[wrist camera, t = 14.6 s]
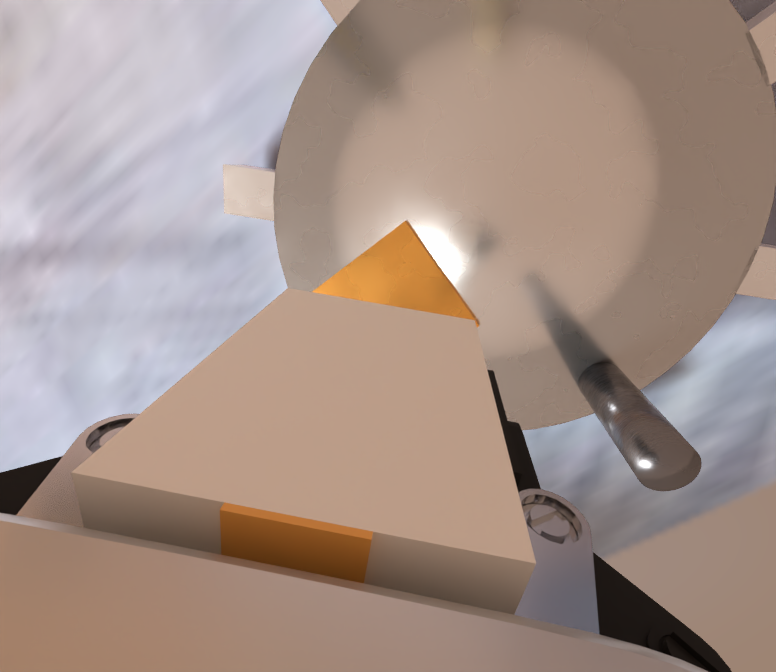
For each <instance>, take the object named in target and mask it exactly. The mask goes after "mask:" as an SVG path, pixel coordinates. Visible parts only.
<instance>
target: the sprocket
mask: <svg viewBox="0 0 776 672" xmlns="http://www.w3.org/2000/svg"><path fill="white" fill-rule="evenodd" d="M321 2H322V3H323V5H324V6H325V8H326V9H327V11H328V12H329V14H330V15H331V17H332V18H333V20H334V21H335V23H336V24H337V27H336V29H335V30H334V31H333V32H332V33H331V35H330V36H329V38H328V39H327V41H326V42H325V44H324V45H323V47H322V48H321V50H320V51H319V53H318V55H317V56H316V58H315V59H314V61H313V62H312V64H311V65H310V67H309V69H308V71H307V73H306V75H305V77H304V80H303V82H302V84H301V86H300V88H299V90H298V92H297V94H296V96H295V98H294V101H293V104H292V107H291V110H290V112H289V115H288V118H287V121H286V124H285V127H284V130H283V134H282V138H281V143H280V148H279V153H278V158H277V162H276V170H274V169H268V168H261V167H255V166H248V165H223V180H224V213H226V214H232V215H239V216H245V217H252V218H258V219H264V220H271V221H274V228H275V235H276V241H277V247H278V253H279V259H280V262H281V265H282V269H283V272H284V276H285V279H286V283H287V286H288V288H291V289H297V290H302V291H308V292H314V293H320V294H326V295H331V296H337V297H343V298H349V299H355V300H360V301H366V302H372V303H378V304H384V305H389V306H395V307H401V308H407V309H413V310H418V311H424V312H430V313H436V314H441V315H447V316H453V317H459V318H465V319H470V320H475V323H476V327H477V331H478V335H479V339H480V343H481V347H482V351H483V355H484V359H485V363H486V367H487V370H493V371H494V374H495V377H496V381H497V385H498V388H499V392H500V395H501V399H502V403H503V406H504V410H505V413H506V417H507V420H508V421H512V422H517V423H519V425H520V427H521V429H522V430H530V429H538V428H543V427H548V426H553V425H557V424H562V423H565V422H569V421H572V420H575V419H578V418H582V417H585V416H588V415H590V414H593V413H595V414H596V416H597V417H598V419H599V420H600V422H601V423H602V425H603V426H604V428H605V429H606V431H607V432H608V434H609V435H610V437H611V438H612V440H613V441H614V443H615V445H616V446H617V448H618V449H619V451H620V452H621V454H622V455H623V457H624V458H625V460H626V461H627V463H628V464H629V466H630V467H631V469H632V470H633V472H634V473H635V475H636V476H637V478H638V479H639V481H640V482H641V483H642V484H643V485H644V486H646V487H647V488H650V489H652V490H656V491H671V490H676V489H679V488H682V487H684V486H686V485H687V484H689V483H690V482H692V481H693V480H694V479H695V478H696V477H697V475H698V474H699V472H700V469H701V458H700V456H699V454H698V453H697V452H696V451H695V449H694V448H693V447H692V446H691V445H690V444H689V443H688V442H687V441H686V440H685V439H684V438H683V436H682V435H681V434H680V433H679V432H678V431H677V430H676V429H675V428H674V427H673V426H672V425H671V424H670V422H669V421H668V420H667V419H666V418H665V417H664V416H663V415H662V414H661V413H660V412H659V411H658V410H657V408H656V407H655V406H654V405H653V404H652V403H651V402H650V401H649V400H648V399H647V398H646V397H645V396H644V394H643V393H642V392H641V391H640V390H641V389H642V388H644V387H645V386H647V385H648V384H650V383H651V382H652V381H654V380H655V379H657V378H658V377H660V376H661V375H662V374H664V373H665V372H667V371H668V370H669V369H670V368H671V367H672V366H673V365H675V364H676V363H677V362H678V361H679V360H680V359H681V358H683V357H684V356H685V355H686V354H687V353H688V352H690V351H691V349H692V348H693V347H694V346H695V345H696V344H697V343H698V342H699V341H700V340H701V339H702V338H703V336H704V335H705V334H706V333H707V332H708V331H709V330H710V329H711V328H712V327H713V325H714V324H715V323H716V321H717V320H718V318H719V317H720V316H721V314H722V313H723V312H724V310H725V309H726V308H727V306H728V305H729V304H730V302H731V301H732V299H733V298H734V296H735V294H741V295H748V296H754V297H760V298H767V299H773V300H776V246H775V245H769V244H762V243H761V242H762V239H763V236H764V233H765V229H766V226H767V222H768V219H769V215H770V212H771V208H772V205H773V199H774V193H775V186H776V108H775V101H774V94H773V90H772V87H771V84H773V83H774V82H776V1H775V2H773V3H772V4H771V5H769V6H768V7H767V8H765V9H764V10H762V11H761V12H760V13H758V14H757V15H755V16H754V17H753V18H751V19H750V20H748V21H747V22H746V23H745V21H744V20H743V19H742V17H741V16H740V15H739V13H738V12H737V11H736V9H735V8H734V7H733V5H732V4H731V3H730V1H729V0H321Z"/></svg>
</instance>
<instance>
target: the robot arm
mask: <svg viewBox="0 0 776 672" xmlns="http://www.w3.org/2000/svg"><path fill="white" fill-rule="evenodd" d="M487 371H488V374H489V378H490V382H491V386H492V390H493V394H494V398H495V402H496V406H497V410H498V414H499V418H500V422H501V426H502V430H503V434H504V438H505V442H506V446H507V450H508V454H509V458H510V462H511V466H512V470H513V474H514V478H515V482H516V485H517V489H518V493H519V497H520V501H521V505H522V509H523V513H524V517H525V521H526V525H527V529H528V533H529V537H530V541H531V545H532V549H533V553H534V557H535V561H536V565H535V568H534V570H533V572H532V575H531V577H530V579H529V582H528V584H527V586H526V588H525V591H524V593H523V595H522V598H521V600H520V602H519V605H518V607H517V609H516V612H515V614H514V615H512V614H508V613H503V612H499V611H494V610H489V609H484V608H479V607H475V606H470V605H465V604H460V603H455V602H451V601H446V600H441V599H436V598H431V597H427V596H422V595H417V594H412V593H407V592H403V591H398V590H393V589H388V588H383V587H378V586H374V585H369V584H364V583H359V582H354V581H349V580H344V579H339V578H334V577H330V576H325V575H320V574H315V573H310V572H305V571H300V570H295V569H290V568H285V567H280V566H275V565H270V564H265V563H260V562H255V561H250V560H245V559H240V558H235V557H230V556H225V555H220V554H215V553H210V552H205V551H200V550H195V549H190V548H185V547H180V546H175V545H170V544H165V543H160V542H154V541H149V540H144V539H139V538H134V537H129V536H124V535H119V534H113V533H108V532H103V531H98V530H93V529H88V528H84V526H83V522H82V517H81V513H80V508H79V504H78V500H77V495H76V491H75V487H74V482H73V478H72V473H71V472H72V471H73V470H75V469H76V468H77V467H78V466H79V465H80V464H82V463H83V462H84V461H85V460H86V459H88V458H89V457H90V456H91V455H92V454H93V453H95V452H96V451H97V450H98V449H99V448H100V447H102V446H103V445H104V444H105V443H106V442H108V441H109V440H110V439H111V438H112V437H113V436H115V435H116V434H117V433H118V432H119V431H120V430H122V429H123V428H124V427H125V426H126V425H128V424H129V423H130V422H131V421H132V420H133V419H135V418H136V417H137V416H138V415H139V414H123V415H118V416H113V417H109V418H107V419H104V420H101V421H99V422H97V423H95V424H93V425H92V426H90V427H88V428H87V429H86V430H85V431H84V432H82V433H81V434H80V435H79V437H78V438H77V439H76V440H75V442H74V443H73V444H72V445H71V447H70V448H69V449H68V450H67V452H66V453H65V454H64V456H62V457H58V458H54V459H50V460H47V461H43V462H39V463H35V464H32V465H28V466H24V467H20V468H17V469H13V470H9V471H5V472H2V473H0V672H731V670H730V668H729V667H728V666H727V665H726V664H725V662H724V661H723V660H722V658H721V657H720V656H719V655H718V653H717V652H716V651H715V650H714V649H712V647H710V646H709V645H708V644H707V643H706V642H705V641H704V640H703V639H702V638H700V637H699V636H698V635H697V634H695V633H694V632H693V631H692V630H691V629H689V628H688V627H687V626H686V625H684V624H683V623H682V622H680V621H679V620H678V619H677V618H675V617H674V616H673V615H672V614H670V613H669V612H668V611H666V610H665V609H664V608H663V607H661V606H660V605H659V604H658V603H656V602H655V601H654V600H653V599H651V598H650V597H649V596H648V595H646V594H645V593H644V592H643V591H641V590H640V589H639V588H638V587H636V586H635V585H633V584H632V583H631V582H630V581H629V580H627V579H626V578H625V577H624V576H622V575H621V574H620V573H619V572H617V571H616V570H615V569H613V568H612V567H611V566H610V565H608V564H607V563H606V562H605V561H603V560H602V559H601V558H600V557H598V556H597V555H596V554H595V553H593V549H592V536H591V531H590V527H589V524H588V522H587V521H586V519H585V517H584V516H583V514H582V513H581V512H580V511H579V510H578V509H577V508H576V507H575V506H574V505H573V504H571V503H570V502H568V501H567V500H566V499H564V498H563V497H561V496H558V495H556V494H554V493H552V492H549V491H545V490H542V489H541V488H540V485H539V482H538V479H537V476H536V473H535V470H534V466H533V463H532V460H531V457H530V454H529V451H528V448H527V445H526V442H525V439H524V435H523V432H522V429H521V427H520V425H519V423H517V422H512V421H508V420H507V417H506V413H505V410H504V406H503V403H502V399H501V395H500V392H499V388H498V385H497V381H496V377H495V374H494V371H493V370H487Z"/></svg>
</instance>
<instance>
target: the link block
mask: <svg viewBox="0 0 776 672" xmlns="http://www.w3.org/2000/svg"><path fill="white" fill-rule="evenodd" d="M71 473H72V478H73V482H74V487H75V491H76V495H77V500H78V504H79V508H80V513H81V517H82V522H83V526H84V528H88V529H93V530H98V531H103V532H108V533H113V534H119V535H124V536H129V537H134V538H139V539H144V540H149V541H154V542H160V543H165V544H170V545H175V546H180V547H185V548H190V549H195V550H200V551H205V552H210V553H215V554H220V555H225V556H230V557H235V558H240V559H245V560H250V561H255V562H260V563H265V564H270V565H275V566H280V567H285V568H290V569H295V570H300V571H305V572H310V573H315V574H320V575H325V576H330V577H334V578H339V579H344V580H349V581H354V582H359V583H364V584H369V585H374V586H378V587H383V588H388V589H393V590H398V591H403V592H407V593H412V594H417V595H422V596H427V597H431V598H436V599H441V600H446V601H451V602H455V603H460V604H465V605H470V606H475V607H479V608H484V609H489V610H494V611H499V612H503V613H508V614H512V615H514V614H515V612H516V609H517V607H518V605H519V602H520V600H521V598H522V595H523V593H524V591H525V588H526V586H527V584H528V582H529V579H530V577H531V575H532V572H533V570H534V568H535V565H536V561H535V557H534V553H533V549H532V545H531V541H530V537H529V533H528V529H527V525H526V521H525V517H524V513H523V509H522V505H521V501H520V497H519V493H518V489H517V485H516V482H515V478H514V474H513V470H512V466H511V462H510V458H509V454H508V450H507V446H506V442H505V438H504V434H503V430H502V426H501V422H500V418H499V414H498V410H497V406H496V402H495V398H494V394H493V390H492V386H491V382H490V378H489V374H488V371H487V367H486V363H485V359H484V355H483V351H482V347H481V343H480V339H479V335H478V331H477V327H476V323H475V320H470V319H465V318H459V317H453V316H447V315H441V314H436V313H430V312H424V311H418V310H413V309H407V308H401V307H395V306H389V305H384V304H378V303H372V302H366V301H360V300H355V299H349V298H343V297H337V296H331V295H326V294H320V293H314V292H308V291H302V290H297V289H291V288H288V289H286V290H285V291H284V292H283V293H282V294H281V295H279V296H278V297H277V298H276V299H275V300H273V301H272V302H271V303H270V304H269V305H268V306H266V307H265V308H264V309H263V310H262V311H261V312H259V313H258V314H257V315H256V316H255V317H253V318H252V319H251V320H250V321H249V322H248V323H246V324H245V325H244V326H243V327H242V328H241V329H239V330H238V331H237V332H236V333H235V334H233V335H232V336H231V337H230V338H229V339H228V340H226V341H225V342H224V343H223V344H222V345H221V346H219V347H218V348H217V349H216V350H215V351H213V352H212V353H211V354H210V355H209V356H208V357H206V358H205V359H204V360H203V361H202V362H201V363H199V364H198V365H197V366H196V367H195V368H193V369H192V370H191V371H190V372H189V373H188V374H186V375H185V376H184V377H183V378H182V379H181V380H179V381H178V382H177V383H176V384H175V385H173V386H172V387H171V388H170V389H169V390H168V391H166V392H165V393H164V394H163V395H162V396H160V397H159V398H158V399H157V400H156V401H155V402H153V403H152V404H151V405H150V406H149V407H148V408H146V409H145V410H144V411H143V412H142V413H140V414H139V415H138V416H137V417H136V418H135V419H133V420H132V421H131V422H130V423H129V424H128V425H126V426H125V427H124V428H123V429H122V430H120V431H119V432H118V433H117V434H116V435H115V436H113V437H112V438H111V439H110V440H109V441H108V442H106V443H105V444H104V445H103V446H102V447H100V448H99V449H98V450H97V451H96V452H95V453H93V454H92V455H91V456H90V457H89V458H88V459H86V460H85V461H84V462H83V463H82V464H80V465H79V466H78V467H77V468H76V469H75V470H73V471H72V472H71Z"/></svg>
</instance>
